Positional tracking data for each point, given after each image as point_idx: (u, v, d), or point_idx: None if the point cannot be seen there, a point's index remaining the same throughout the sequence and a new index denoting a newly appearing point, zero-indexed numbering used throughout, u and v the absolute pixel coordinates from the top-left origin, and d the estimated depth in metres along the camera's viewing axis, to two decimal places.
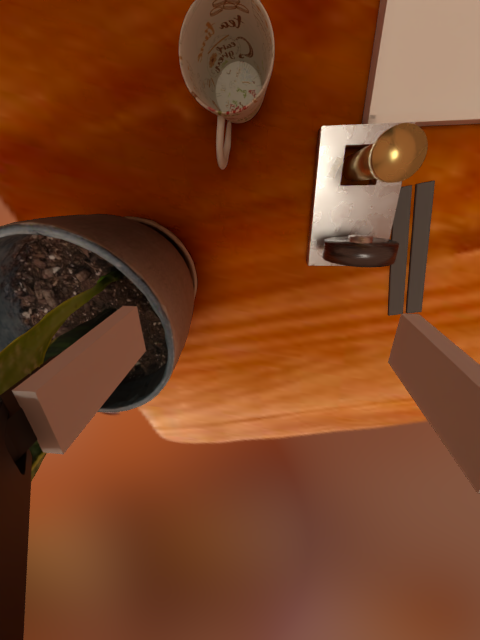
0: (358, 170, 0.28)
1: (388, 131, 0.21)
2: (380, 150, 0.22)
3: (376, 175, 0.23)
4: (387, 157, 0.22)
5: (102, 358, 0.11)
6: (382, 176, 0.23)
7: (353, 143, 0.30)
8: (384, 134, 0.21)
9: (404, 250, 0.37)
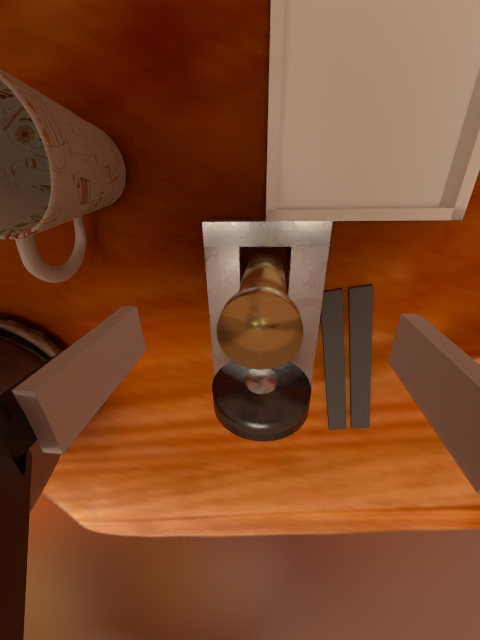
0: None
1: (234, 303, 0.12)
2: (227, 328, 0.13)
3: None
4: (241, 338, 0.13)
5: (102, 358, 0.11)
6: (239, 361, 0.14)
7: (249, 245, 0.21)
8: (228, 307, 0.12)
9: (341, 363, 0.28)
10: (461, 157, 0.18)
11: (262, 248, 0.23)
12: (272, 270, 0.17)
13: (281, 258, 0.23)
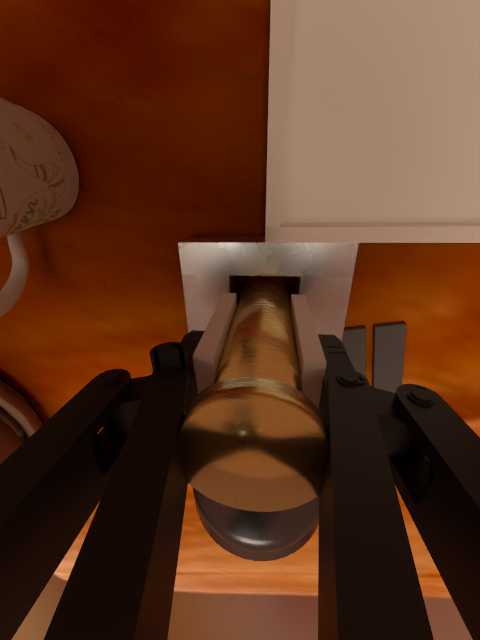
0: None
1: (202, 417, 0.06)
2: (193, 452, 0.07)
3: None
4: (219, 467, 0.07)
5: (227, 336, 0.12)
6: (218, 497, 0.08)
7: (243, 273, 0.15)
8: (192, 421, 0.07)
9: None
10: None
11: None
12: (274, 318, 0.12)
13: (286, 287, 0.18)
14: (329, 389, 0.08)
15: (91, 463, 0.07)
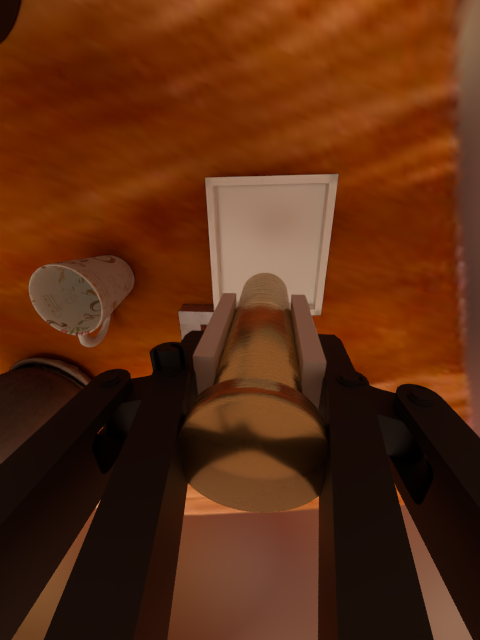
0: None
1: (202, 418, 0.06)
2: (193, 453, 0.07)
3: None
4: (219, 468, 0.07)
5: (227, 336, 0.12)
6: (218, 498, 0.08)
7: (206, 323, 0.36)
8: (192, 422, 0.07)
9: None
10: (316, 283, 0.33)
11: (260, 275, 0.17)
12: (274, 319, 0.12)
13: (286, 288, 0.18)
14: (329, 389, 0.08)
15: (92, 462, 0.07)
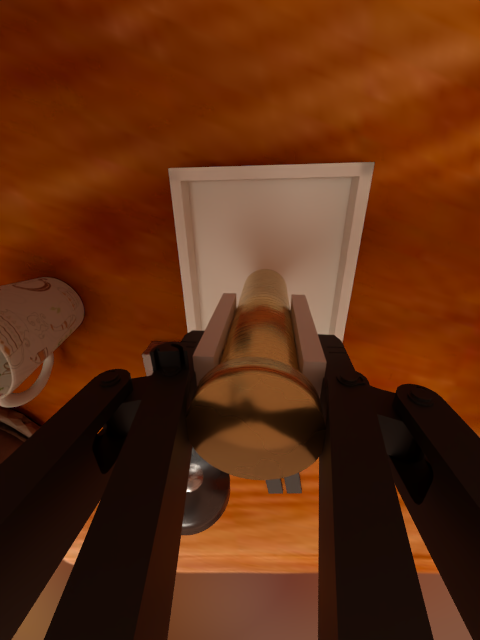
0: None
1: (211, 390, 0.07)
2: (202, 424, 0.08)
3: None
4: (225, 437, 0.08)
5: (227, 336, 0.12)
6: (223, 467, 0.09)
7: None
8: (202, 395, 0.07)
9: None
10: (333, 320, 0.23)
11: (261, 271, 0.18)
12: (274, 310, 0.12)
13: (285, 283, 0.19)
14: (329, 389, 0.08)
15: (92, 462, 0.07)
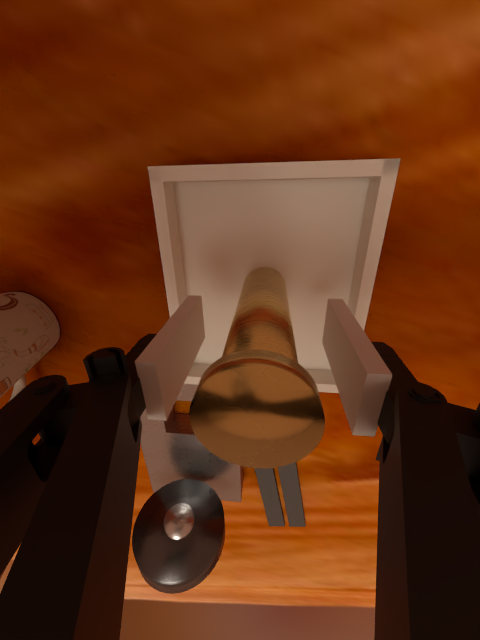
0: None
1: (214, 381, 0.08)
2: (205, 414, 0.08)
3: None
4: (227, 427, 0.08)
5: (185, 340, 0.12)
6: (226, 456, 0.09)
7: None
8: (206, 386, 0.08)
9: (271, 476, 0.30)
10: None
11: (260, 269, 0.19)
12: (274, 306, 0.13)
13: (284, 281, 0.19)
14: (399, 402, 0.07)
15: (28, 470, 0.07)
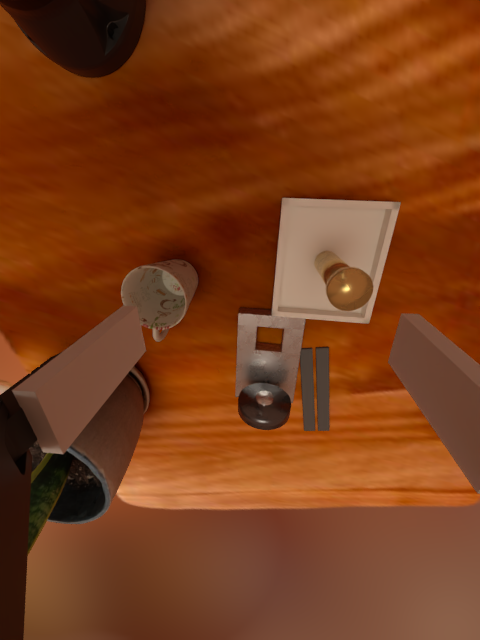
0: (323, 280, 0.31)
1: (340, 273, 0.25)
2: (334, 286, 0.25)
3: (331, 303, 0.26)
4: (340, 292, 0.25)
5: (102, 358, 0.11)
6: (336, 305, 0.26)
7: (262, 325, 0.40)
8: (337, 275, 0.25)
9: (311, 389, 0.46)
10: None
11: (326, 251, 0.36)
12: (344, 262, 0.30)
13: None
14: None
15: None
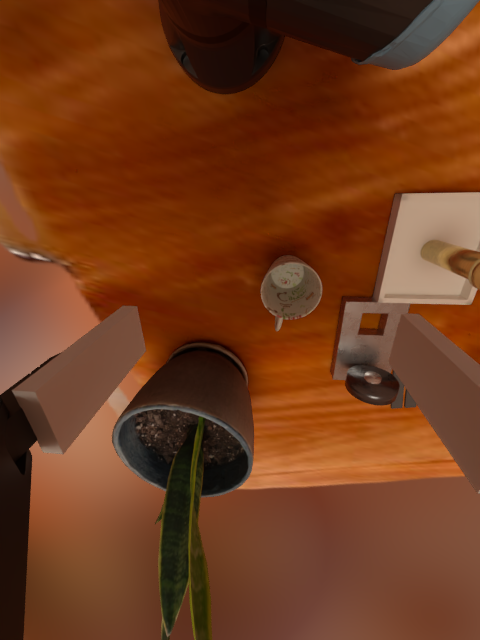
0: (447, 266, 0.35)
1: None
2: None
3: (475, 286, 0.30)
4: None
5: (102, 358, 0.11)
6: None
7: (367, 312, 0.44)
8: None
9: None
10: None
11: (435, 240, 0.39)
12: None
13: None
14: None
15: None
